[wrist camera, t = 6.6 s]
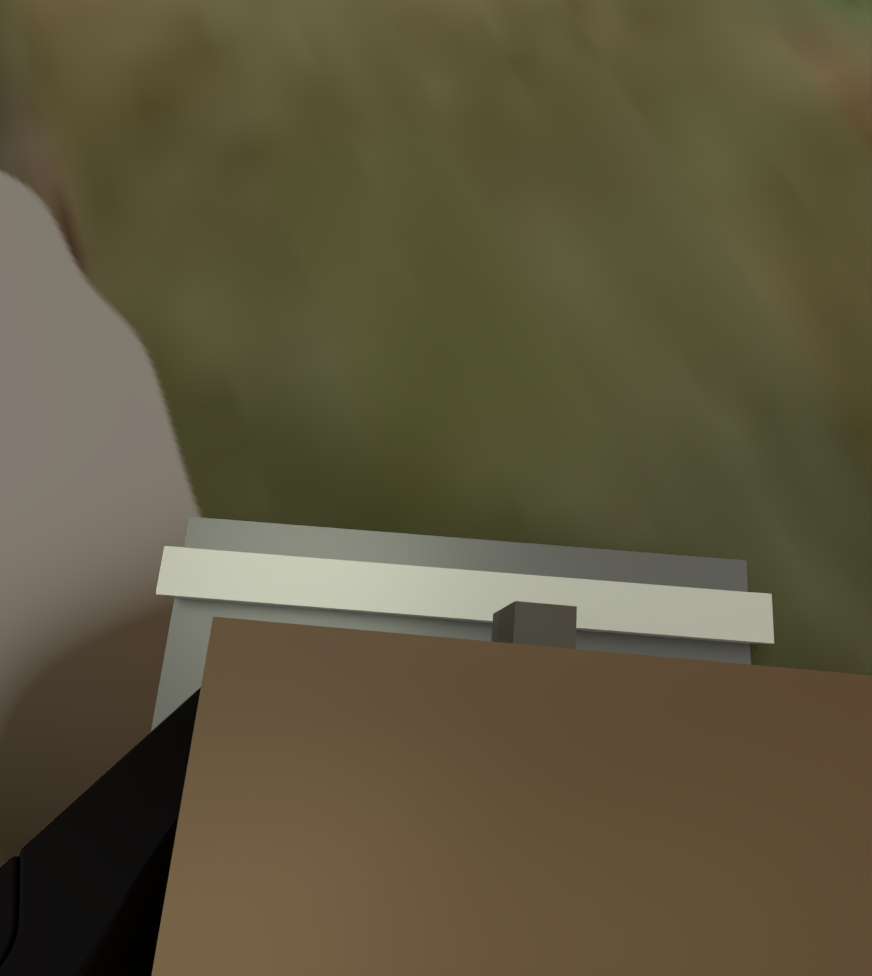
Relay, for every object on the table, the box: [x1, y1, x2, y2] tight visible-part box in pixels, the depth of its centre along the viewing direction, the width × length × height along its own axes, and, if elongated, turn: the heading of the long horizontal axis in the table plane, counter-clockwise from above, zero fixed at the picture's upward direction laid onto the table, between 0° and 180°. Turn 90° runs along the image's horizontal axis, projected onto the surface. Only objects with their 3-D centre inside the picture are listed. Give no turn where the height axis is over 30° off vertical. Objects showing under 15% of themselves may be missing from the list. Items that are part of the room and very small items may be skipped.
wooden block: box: [152, 601, 872, 976], centre depth 10 cm, size 4×6×10 cm, turn 85°
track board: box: [151, 517, 774, 731], centre depth 20 cm, size 11×19×2 cm, turn 86°
